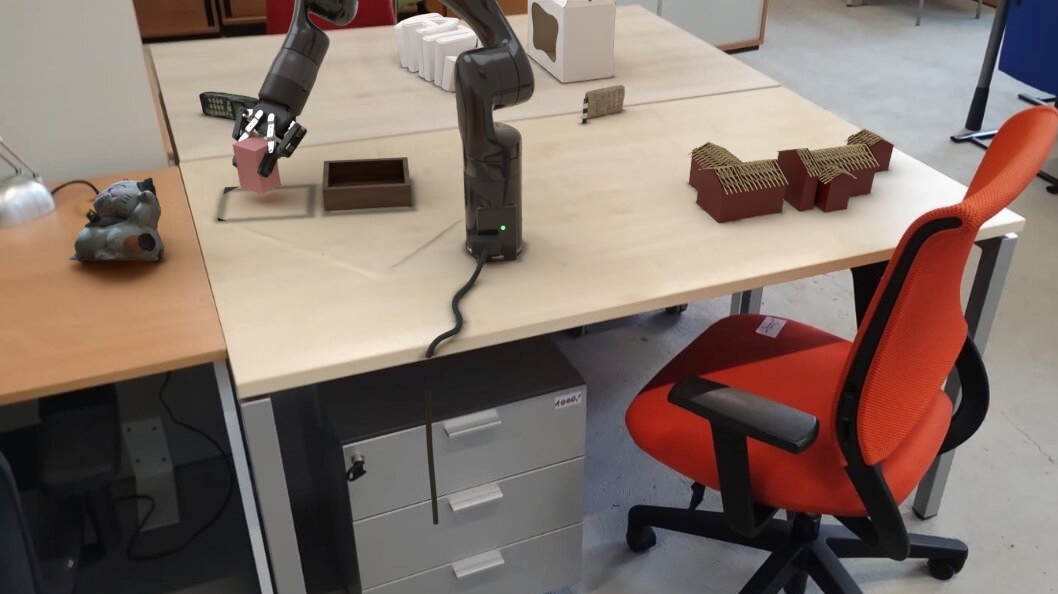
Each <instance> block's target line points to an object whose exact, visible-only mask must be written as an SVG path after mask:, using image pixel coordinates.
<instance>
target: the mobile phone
mask: <svg viewBox="0 0 1058 594" xmlns="http://www.w3.org/2000/svg"><path fill="white" fill-rule="evenodd" d="M198 97H199V101H200V105H201V111H202V114H203V115H207V116H210V117H211V116H212V117H218V118H226V119H231V120H236V117H237V113H238V109H239V107H241V106H242V107H244V108H245V109H253V108H254V107H255V106H256V105H257V104H258V102H259V98H257V97H252V96H249V95H245V94H244V95H243V94H235V93H227V92H223V91H204V92H201V93H199V94H198Z"/></svg>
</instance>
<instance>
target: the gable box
mask: <svg viewBox="0 0 1058 594" xmlns="http://www.w3.org/2000/svg"><path fill="white" fill-rule="evenodd" d="M616 12H617V2H616V1H614V0H527V56H528V57H530V58H532V59H533V60H534V61H535V62H537V63H538V64H539V65H540V66H541V67H543V69H545V70H546V71H547V72H549V73H550V75H552V76H553V77H554V78H555V79H557V80H558V81H560V82H561V83H562V84H568V83H575V82H583V81H590V80H591V81H593V80H601V79H607V78H608V79H609V78H612V77H613V73H614V72H613V71H614V70H613V69H614V52H615V32H616V31H615V30H616Z"/></svg>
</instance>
